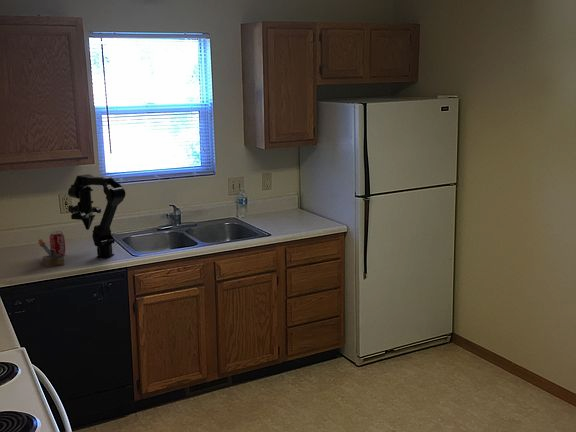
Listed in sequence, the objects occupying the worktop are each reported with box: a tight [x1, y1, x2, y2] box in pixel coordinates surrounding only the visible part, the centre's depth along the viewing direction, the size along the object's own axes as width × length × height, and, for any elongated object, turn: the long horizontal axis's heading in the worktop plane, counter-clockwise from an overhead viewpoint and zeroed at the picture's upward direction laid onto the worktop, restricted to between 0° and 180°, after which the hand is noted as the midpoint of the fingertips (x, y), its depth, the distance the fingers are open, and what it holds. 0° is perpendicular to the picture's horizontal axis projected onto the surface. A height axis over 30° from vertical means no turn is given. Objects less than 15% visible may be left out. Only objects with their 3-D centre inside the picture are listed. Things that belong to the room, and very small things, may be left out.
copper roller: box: [37, 238, 52, 259], centre depth 307 cm, size 2×6×10 cm
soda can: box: [49, 230, 67, 257], centre depth 322 cm, size 7×7×12 cm
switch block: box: [42, 249, 65, 268], centre depth 309 cm, size 8×10×6 cm
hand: (87, 229), depth 326 cm, fingers closed
